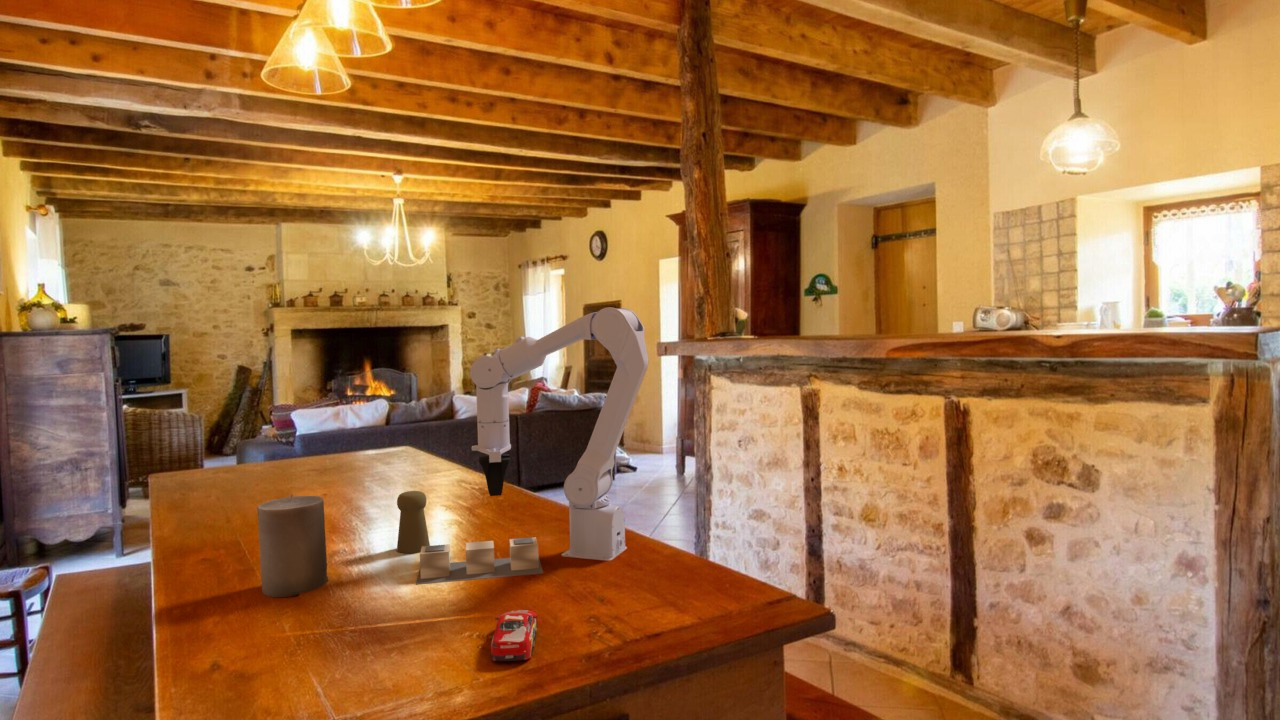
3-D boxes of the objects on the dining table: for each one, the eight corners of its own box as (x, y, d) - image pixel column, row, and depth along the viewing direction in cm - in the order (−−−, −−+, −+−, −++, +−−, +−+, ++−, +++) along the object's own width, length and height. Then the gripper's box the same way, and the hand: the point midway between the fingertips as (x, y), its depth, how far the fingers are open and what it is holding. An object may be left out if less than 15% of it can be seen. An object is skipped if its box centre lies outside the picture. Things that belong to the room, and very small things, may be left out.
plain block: (494, 563, 129) (493, 540, 129) (494, 572, 125) (493, 548, 124) (466, 566, 128) (466, 542, 128) (466, 574, 124) (465, 550, 124)
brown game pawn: (420, 556, 135) (418, 495, 135) (389, 555, 137) (387, 495, 136) (436, 547, 141) (434, 488, 141) (406, 545, 143) (404, 487, 142)
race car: (500, 625, 104) (500, 597, 104) (540, 624, 104) (539, 595, 104) (485, 668, 91) (484, 635, 90) (531, 666, 91) (530, 634, 91)
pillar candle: (341, 580, 124) (337, 488, 123) (296, 600, 114) (291, 501, 114) (294, 575, 127) (289, 486, 126) (246, 595, 118) (241, 499, 117)
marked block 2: (536, 560, 131) (535, 536, 130) (538, 568, 126) (538, 543, 126) (510, 562, 130) (509, 538, 129) (511, 570, 125) (510, 545, 125)
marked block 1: (450, 567, 127) (449, 543, 127) (449, 576, 123) (448, 550, 123) (422, 570, 126) (421, 545, 126) (420, 578, 122) (419, 553, 122)
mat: (538, 557, 133) (538, 555, 133) (543, 575, 124) (543, 573, 124) (420, 567, 129) (420, 565, 129) (416, 586, 119) (415, 584, 119)
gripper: (471, 417, 145) (473, 488, 145) (470, 427, 131) (473, 505, 131) (508, 416, 146) (510, 486, 147) (512, 425, 132) (514, 502, 133)
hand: (495, 495), depth 139 cm, fingers closed
